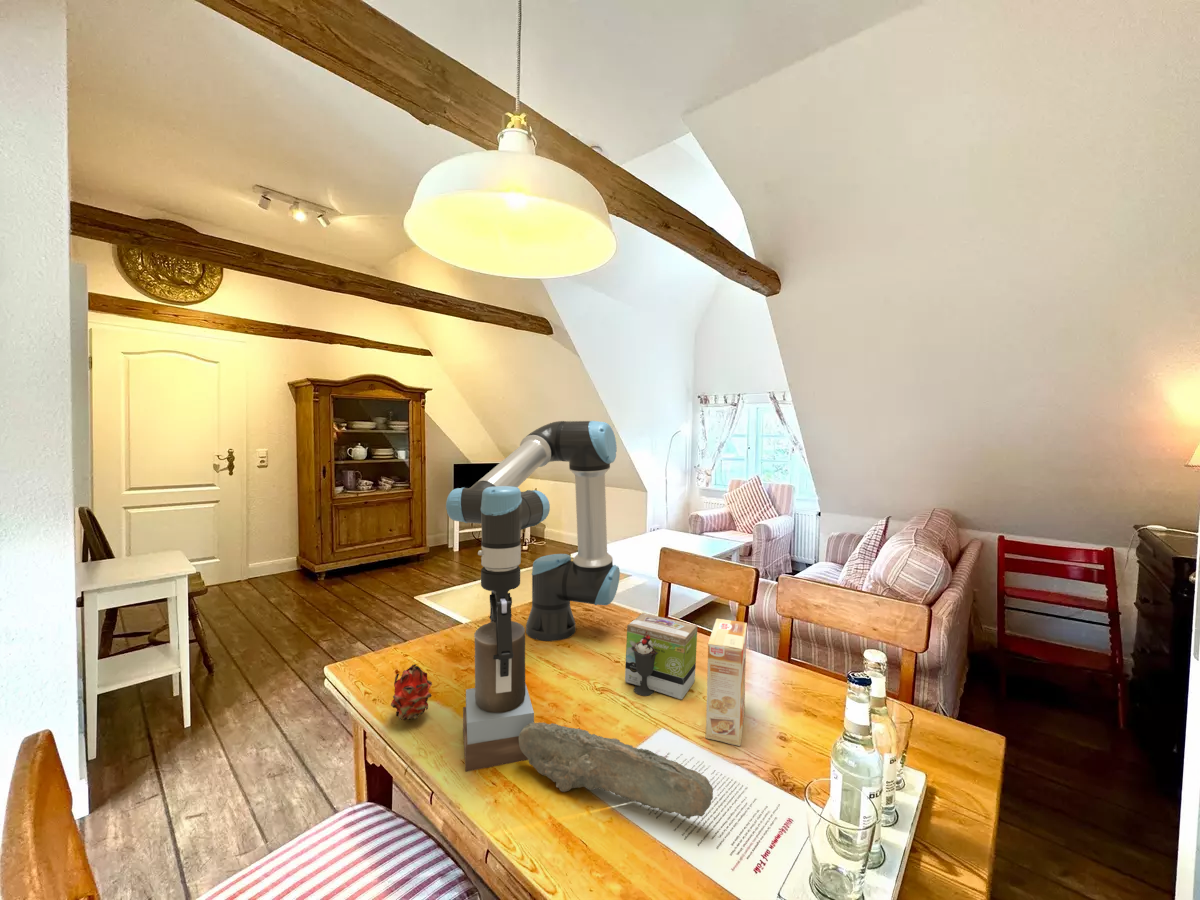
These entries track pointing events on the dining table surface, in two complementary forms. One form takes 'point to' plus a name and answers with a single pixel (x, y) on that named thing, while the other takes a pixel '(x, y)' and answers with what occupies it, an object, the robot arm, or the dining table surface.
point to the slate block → (495, 720)
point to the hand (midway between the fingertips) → (500, 673)
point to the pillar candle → (487, 669)
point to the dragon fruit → (411, 693)
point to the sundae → (644, 663)
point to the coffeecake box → (726, 681)
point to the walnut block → (490, 751)
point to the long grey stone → (614, 769)
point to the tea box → (664, 654)
